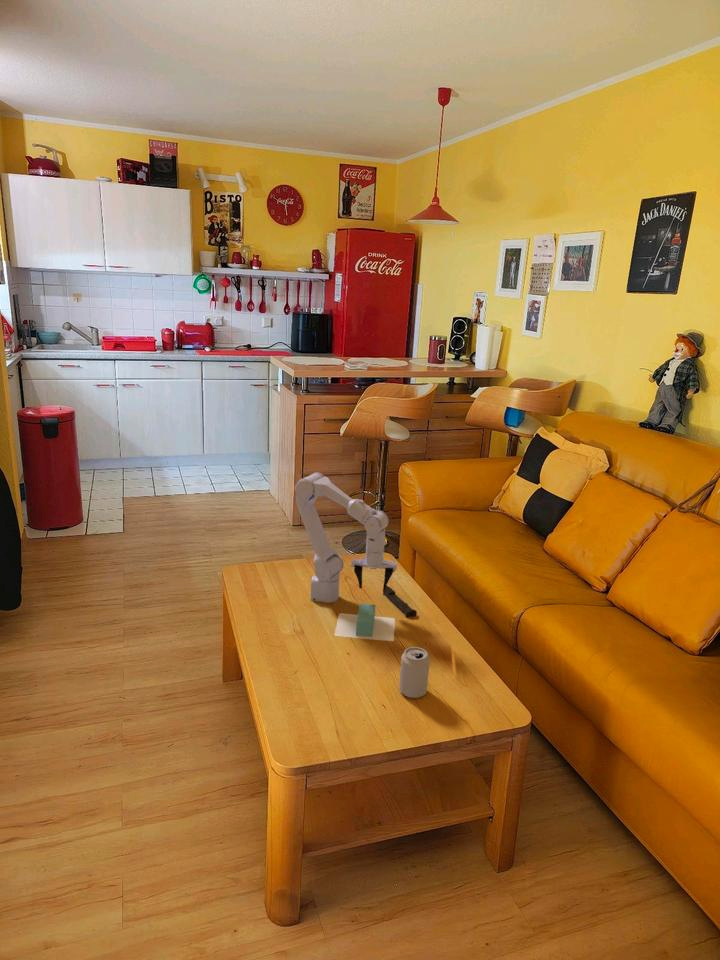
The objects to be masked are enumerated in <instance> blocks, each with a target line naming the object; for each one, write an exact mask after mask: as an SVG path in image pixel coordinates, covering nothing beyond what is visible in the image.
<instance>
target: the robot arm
mask: <svg viewBox="0 0 720 960" xmlns="http://www.w3.org/2000/svg"><path fill="white" fill-rule="evenodd" d="M293 489H294V492H295V494H296V495H295V505H296V507H297V509H298V512H299V514H300V518H301V520H302V523H303V525H304V529H305V531H306V533H307V536H308V538H309V541H310V544H311V546H312V548H313V551H314V557H313V561H312V562H313V567H314V575H312V577H311V582H310V593H309V595H310V601H312V602H313V601H314V602H321V603H327V604H330V603H335V602H337V601H338V600H339V598H340V597H339V596H340V576H341V575H340V574H341V571H342V570H343V569H344V564H345V563H344V559H342V557H341V556H340V555H339V553H338V551H337V550H336V549H334V548H333V547H331V545H330V542H329V538H328V537H327V534H326V532H325V528H324V527H323V524H322V522H321V519H320V516H319V514H318V510H317V508H316V506H315V502H316V500H317V498H319V497H327V498H329V499H330V500H332V501H333V502H335V503H337V504H338V505H340V506H342V507H344V508H345V509H346V513H347V514H348V515H349V516H350V517H352V518H353V519H355V520H356V521H358V522H359V523H360V524H362V525H364V526H363V527H364V529H365V532H366V542H365V543H366V544H365V558H351V562H350V567H351V568H354V569H353V571H354V574H355V576H356V578H357V579H356V580H357V582H358V585H359V589H362V587H363V568H369V569H370V570H378V569H383V570H384V580H383V588H382V591H383V590H384V591H385V589H386V586H388V582H389V580H390V579H391V577H392V576H393V574H394V571H397V569H398V567H397V566H398V562H396V561H395V562H394V561H389V560H385V559H384V554H385V543H386V542H385V540H386V538H385V537H386V528H387V526H388V525H389V521H390V520H389V516H388V515H387V513H385V512H384V511H383V510H376V509H375V508H372V507H371V506H369V505H368V504H366V503H365V501H364V500H363V499H359V498H354V499H353V498H352V497H350V496H349V495H347V494H346V493H345V492H343V491H342V489H340V488H338V487H337V485H335V484H333V483H332V481H331V480H330V478H329V477H327V476H325V475H324V474H322V473H321V472H318V471H316V472H313V473H311V474H310V475H308V476H306V477H303V478H300V479H298V480H297V482H296V484H295V486H294V488H293Z"/></svg>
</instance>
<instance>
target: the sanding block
mask: <svg viewBox="0 0 720 960" xmlns="http://www.w3.org/2000/svg"><path fill="white" fill-rule="evenodd" d="M376 606H377V605H376V604H371V603H370V604H368V603H359V606H358V613H357V615H358V616H357V623H356V636H367V637H372V635H373V627H374V620H375V616H376Z"/></svg>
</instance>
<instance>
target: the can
mask: <svg viewBox="0 0 720 960" xmlns="http://www.w3.org/2000/svg"><path fill="white" fill-rule="evenodd" d="M430 659H431V658H430V656H429V653H428V651H426V650H425V649H424V648H422V647H418V646H410V647H408V648H405V650H404V651H403V653H402V655H401V661H400V672H399V673H400V675H399V681H398V682H399V684H398V688H399V691H400V693H401V694H402V695H404V696H405V697H406V696H407V698H409V699H419V698H421V697H423V696H424V695H426V693H427V692H428V682H429V681H428V680H429V671H430V664H431V663H430V662H431V661H430Z"/></svg>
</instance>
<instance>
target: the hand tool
mask: <svg viewBox="0 0 720 960" xmlns="http://www.w3.org/2000/svg"><path fill="white" fill-rule="evenodd" d="M382 595H383V596H385V597H386V598H387V600H389V602H390V603H392V604H393V605H394V607H396V609H398V611H400V612H401V613H402V614H403V615H404V616H405V618H414V617H416V616H417V613H418V611H417V610H415V609H413V608H411V606H410V605H408V602H405V601H404V600H402V599H401V598H400V597H399V596H398V595H397V594H396V591H395V590H393V588H392V587H390V586H388V585H386V589H385V591H384V590H383V589H382Z"/></svg>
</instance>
